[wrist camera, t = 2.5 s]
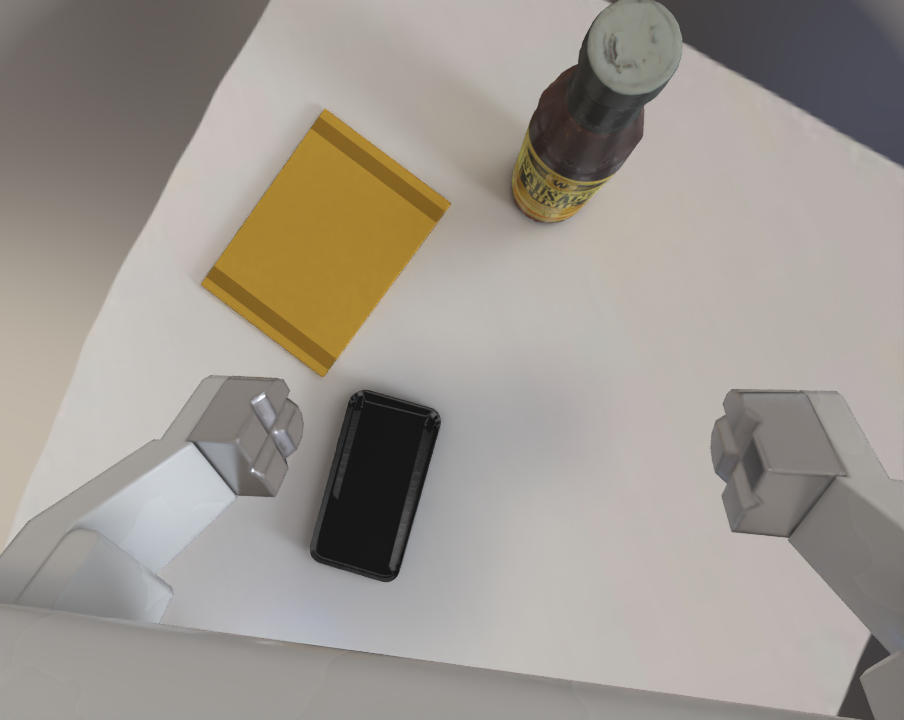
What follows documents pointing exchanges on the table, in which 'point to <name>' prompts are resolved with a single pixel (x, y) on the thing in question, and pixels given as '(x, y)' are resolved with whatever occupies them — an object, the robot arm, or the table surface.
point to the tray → (325, 243)
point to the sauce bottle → (595, 109)
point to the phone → (375, 485)
